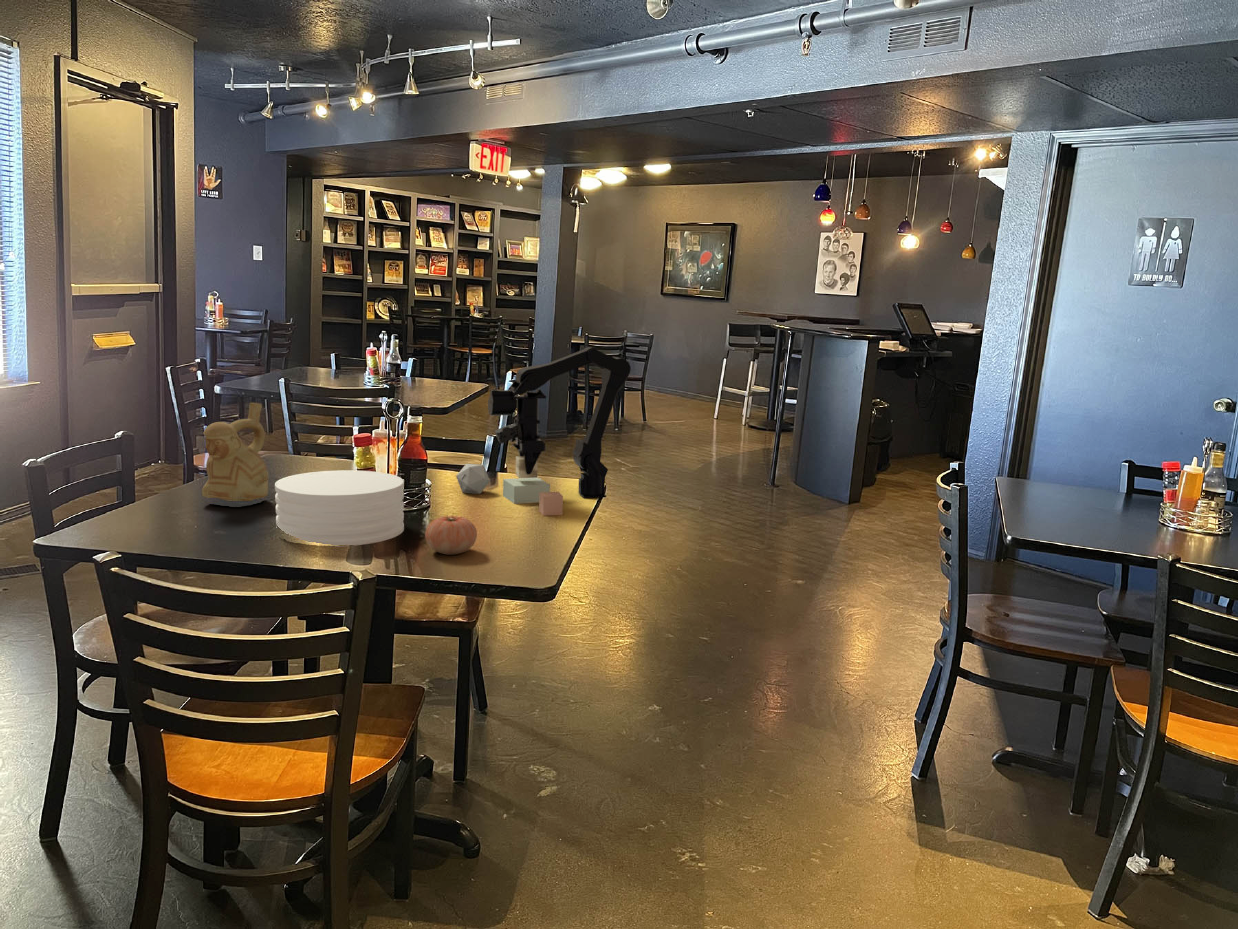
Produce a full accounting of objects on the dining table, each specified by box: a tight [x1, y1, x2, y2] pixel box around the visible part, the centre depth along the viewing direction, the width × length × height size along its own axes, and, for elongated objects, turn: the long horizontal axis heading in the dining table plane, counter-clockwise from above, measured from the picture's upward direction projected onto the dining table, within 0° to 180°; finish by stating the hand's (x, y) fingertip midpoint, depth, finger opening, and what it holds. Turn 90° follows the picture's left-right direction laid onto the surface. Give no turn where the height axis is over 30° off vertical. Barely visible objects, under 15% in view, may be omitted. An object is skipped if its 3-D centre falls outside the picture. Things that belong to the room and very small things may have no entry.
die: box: [455, 463, 491, 495], centre depth 254 cm, size 8×9×10 cm
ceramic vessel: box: [201, 402, 269, 501], centre depth 230 cm, size 17×20×25 cm
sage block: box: [502, 476, 551, 505], centre depth 249 cm, size 10×10×5 cm
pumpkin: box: [424, 515, 478, 556], centre depth 195 cm, size 11×11×8 cm
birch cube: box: [515, 455, 539, 478], centre depth 248 cm, size 5×5×5 cm
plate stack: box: [274, 469, 405, 546], centre depth 209 cm, size 28×28×12 cm
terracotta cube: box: [538, 491, 564, 516], centre depth 234 cm, size 5×5×5 cm
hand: (526, 472), depth 248 cm, fingers closed on birch cube, 5 cm apart
